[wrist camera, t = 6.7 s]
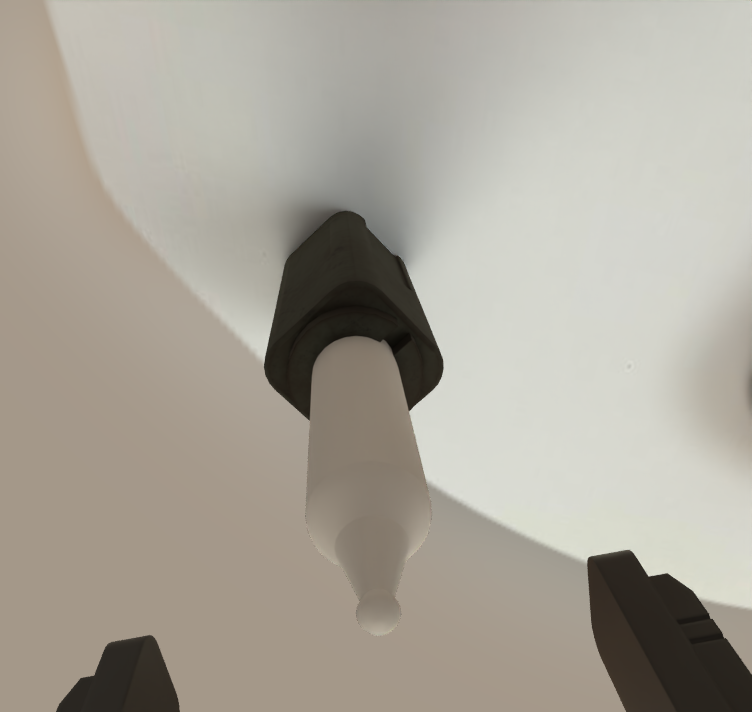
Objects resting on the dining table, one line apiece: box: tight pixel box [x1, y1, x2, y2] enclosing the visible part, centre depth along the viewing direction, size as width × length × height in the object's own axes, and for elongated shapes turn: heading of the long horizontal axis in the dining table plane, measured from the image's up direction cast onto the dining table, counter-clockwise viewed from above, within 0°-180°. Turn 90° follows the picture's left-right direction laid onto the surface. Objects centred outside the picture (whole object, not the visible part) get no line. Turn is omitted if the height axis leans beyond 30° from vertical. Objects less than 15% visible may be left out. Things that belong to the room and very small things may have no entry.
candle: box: [264, 211, 444, 636], centre depth 25 cm, size 5×5×25 cm
